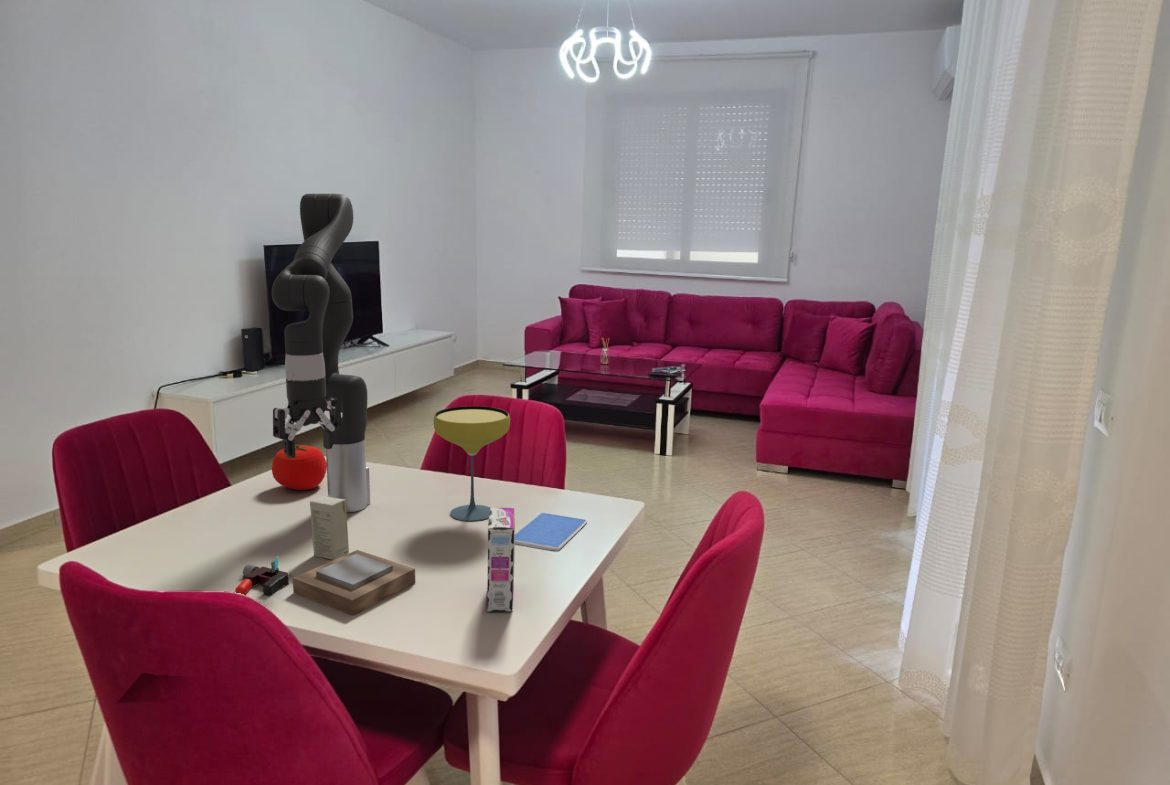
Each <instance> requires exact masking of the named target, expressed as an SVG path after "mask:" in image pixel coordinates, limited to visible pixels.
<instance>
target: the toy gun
mask: <svg viewBox="0 0 1170 785" xmlns="http://www.w3.org/2000/svg"><path fill="white" fill-rule="evenodd" d="M278 558H279V556H274V558H273V559H272V561H271V562H270V566H271V567H268V566H267V567H266V566H261V567H259V566H257V565H253V564H246V565H245V566H244V567H243V569H242V575H243V576H242V581H241V582H240V583H239V584H238V585H236V586H237V587H235V590H234V593H235V592H236V593H241V594H244V596H245V595H246V594H247V593H248V592H249V591H250V590H251V588H253V587H255V586H258V585H259V586H262V593H263V595H265V596H269V597H271V596H273V595H274V594H275V593H276V592H277V591H278V590H279V589H282V588H283V587H285V586H289V572H286V571H282V570H279V559H278Z"/></svg>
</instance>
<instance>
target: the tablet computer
mask: <svg viewBox="0 0 1170 785" xmlns="http://www.w3.org/2000/svg"><path fill="white" fill-rule="evenodd" d="M587 522H588V523H589V521H588V520H587V519H585V518H584V519H583V518H579V517H578V518H577V517H572V516H566V515H560V514H559V515H558V514H552V513H547V512H540V513H539V514H538V515H536V516H535V517H534V518H533V519H532V520H531V521H529V522H528V523H527V524H526V525H524V526H523V527H522V528H521V529H519V530H518V531H517V532H516V533H515V545H519V546H525V547H529V548H537V549H542V550H548V551H557V552H558V551H560V550H561V549H562V548H563V547H564V546H565V545H566V544H567V543H568V542H569V541H570V540H571V539H572V538H573V537H574V536H575V535H577V533H579V532H580V531H581V530H582V529H583V528H584V527H585V526H586V525H587V524H588V523H587ZM586 523H587V524H586ZM585 524H586V525H585ZM584 525H585V526H584ZM583 526H584V527H583ZM582 527H583V528H582ZM581 528H582V529H581Z"/></svg>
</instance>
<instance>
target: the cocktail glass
mask: <svg viewBox="0 0 1170 785" xmlns="http://www.w3.org/2000/svg"><path fill="white" fill-rule="evenodd" d="M510 426H511V416H510V414H509V412H508V411H507V410H504V409H502V408H497V407H491V406H484V405H483V406H481V405H466V406H465V405H464V406H455V407H448V408H443V409H441V410H439V411H436V412H435V413H434V416H433V429H434V431H435V433H436V434H437V435H438V436H439V437H441V438H442V439H444V440H445V441H447V442H450V443H451V444H454V445H456V446H459V447H461V448H462V449H463V450H464V451H465V453H466V454H467V455H469V456H470V500H469V504H464V505H460V506H457V507H454V508H452V509H451V511H450V512H449V515H450V516H451V518H453V519H455V520H456V521H462V522H481V521H485V520H489V513H490V508H491V506H488V505H482V504H476V500H475V488H474V487H475V486H474V485H475V483H474V482H475V481H474V471H475V470H474V456H476V455H477V454H478V453H479V452H480V450H481V449H482V448H483V447H485V446H486V445H489V444H492V443H493V442H495V441H497V440H499V439H501V438H503V436H505V435H506V434H507V433H508V432H509V429H510Z"/></svg>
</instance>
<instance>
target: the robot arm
mask: <svg viewBox="0 0 1170 785" xmlns="http://www.w3.org/2000/svg"><path fill="white" fill-rule="evenodd" d="M299 216H300V217H299V218H300V223H301V231H302V236H303V242H302V243H301V244H300V245H299V247H298V249H296V253H295V255H294V258H293V261H291V263H290V264H288V265H287V266H286V267H285V268H283V269H282V271H280V273H278V274H277V276H276V278H275V279H274V281H273V283H272V286H271V299H272V302H273V303H274V305H275V306H276V307H277V308H278V309H280V310H282V311H287V312H309V315H308V318H307V319H306V320H303V321H302V320H301V321H297V322H292V323H290V324H287V325H286V326H285V328H284V349H285V350H284V351H285V360H284V361H285V362H284V369H285V370H284V372H285V373H284V374H285V385H286V386H285V388H286V389H285V390H286V398H287V403H288V404H287V406H286V407H282V408H279V407H274V408H273V409H272V436H273V438H276V439H279V440H282V441H283V449H284V453H285V455H287V457H289V458H295V457H296V455H295V446H296V441H295V439H294V438H295V437H296V434H297V433H298V432H299V431H300V430H301V429H302V427H307V426H309V425H316V424H317V425H318V424H319V425H320V427H321V428H323V430H322V442H323V443H322V444H323V445H322V446H323V448H324V449H325V456H326V457H325V460H326V463H327V469H326V478H327V481H326V482H327V496H329V497H335V498H340V499H345V500H346V514H348V513H353V512H358V511H359V512H360V511H361V510H364V509H365V508H367V506H368V505H370V504H371V485H370V484H371V483H370V482H371V481H370V479H371V478H370V467H369V466H367V461H366V460H367V456H366V455H367V454H366V431H367V425H368V388H367V387H368V386H367V384H366V381H365V380H364V379H363V378H362V376H359V375H358V376H357V375H349V374H341V373H340V371H339V370H340V369H339V354H340V350H341V347H342V345H343V343H344V341H345V339H346V338H347V336H348V334H349V332H350V330H351V328H352V325H353V321H354V308H353V298H352V292H351V289H350V287H349V286H348V284H347V283H346V281H345V280H344V278H343V277H342V276H341V274H340V273H339V271H337V269H336V268H335V267H334V265H333V263H332V261H333V258H334V256H335V255H336V253H337V252H338V250H339V249H340V248H341V246H342V245H343V243H344V242H345V240H346V239H347V237H348V236H349V235H350V233H351V230H352V228H353V224H354V209H353V205H352V202H351V200H350V198H349V197H348V196H347V195H345V194H341V193H305V194H303V195H302V196H301V198H300V203H299ZM325 412H328V415H329V418H328V417H327V415H326V414H325ZM288 416H289V419H288V420H287V421H286V419H287V418H288Z"/></svg>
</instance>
